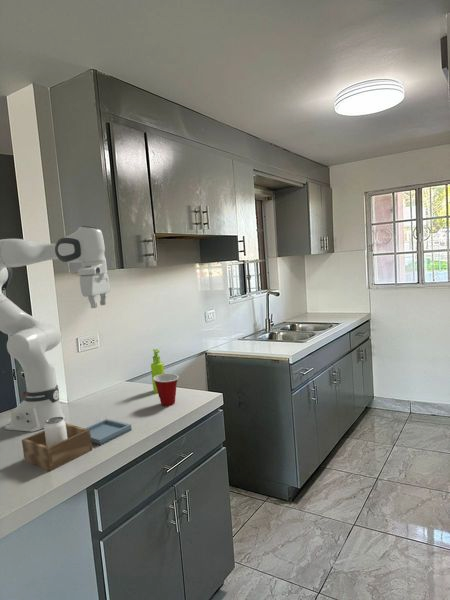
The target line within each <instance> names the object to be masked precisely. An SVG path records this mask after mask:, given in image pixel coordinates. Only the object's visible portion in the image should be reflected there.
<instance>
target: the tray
mask: <svg viewBox="0 0 450 600" xmlns="http://www.w3.org/2000/svg"><path fill="white" fill-rule="evenodd" d="M84 428H85V429H89V430H90V435H91V444H94V445H96V446H103V445H105V444H107V443H109V442H110V441H113V440H114V439H116V438H118V437H120V436H122V435H124V434H126V433H129V432H130V431H132V424H130V423H125V422H122V421H117V420H113V419H109V418H105V419H103V420H101V421H99V422H96V423H94V424H91V425H89V426H88V427H84Z"/></svg>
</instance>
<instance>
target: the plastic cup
mask: <svg viewBox="0 0 450 600" xmlns="http://www.w3.org/2000/svg"><path fill="white" fill-rule="evenodd" d="M179 378H180V377H179V375H177V374H175V373H164V374H160V375H157V376H154V378H153V379H154V381H155V384H156V387H157V391H158V392H157V394H158V398H159V400H160V401H159V402H160V404H161V406H164V407H169V406H173V405H175V404H176V403H175V402H176V393H177V384H178V380H179Z"/></svg>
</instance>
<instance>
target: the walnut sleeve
mask: <svg viewBox="0 0 450 600" xmlns="http://www.w3.org/2000/svg"><path fill="white" fill-rule="evenodd" d="M65 423H66V422H65ZM85 428H86V427H81V426H77V425H73V424H69V423H66V431H67V438H68V439H65V440H63V441H61V442H59V443H56V444H54V445H52V446H50V447H48V446H47V445H46V438H45V430H42V431H40V432H38V433H34V434H33V435H30V436H28V437H25V438H23V439H21V443H22V452H23V459H24V462H27V463H30V464H32V465H35V466H37V467H39V468H41V469H45V470H47V471H49V472H52V471H53V470H56V469H58V468H60V467H62V466H63V465H66V464H68V463H69V462H72V461H73V460H75V459H77V458H79V457H81V456H83V455H85V454H87V453H89V452H92V450H93V445H92V444H93V443H91V435H90V430H89V429H85Z"/></svg>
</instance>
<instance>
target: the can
mask: <svg viewBox="0 0 450 600" xmlns="http://www.w3.org/2000/svg"><path fill="white" fill-rule="evenodd" d="M43 429H44V430H45V438H46V445H47V446H48V447H50V446H52V445H54V444H56V443H59V442H61V441H63V440H65V439H68V438H67V431H66V421H65V419H64V420H63V417H54V418H50V419H48V420H46V421H45V426H44V428H43ZM44 430H43V431H44Z"/></svg>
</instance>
